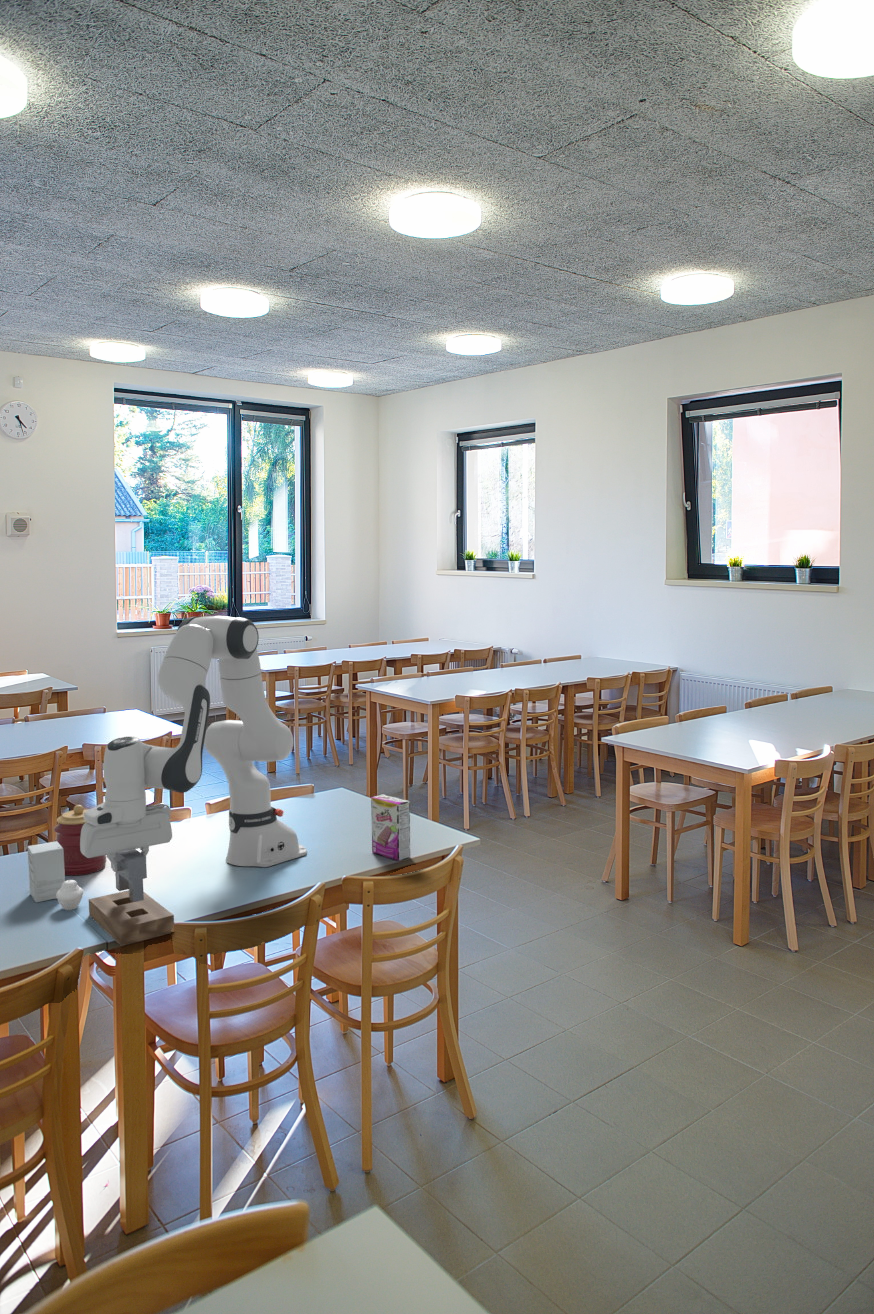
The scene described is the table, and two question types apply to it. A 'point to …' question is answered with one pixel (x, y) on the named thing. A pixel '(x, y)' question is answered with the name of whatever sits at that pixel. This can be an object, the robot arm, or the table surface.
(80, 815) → the canister
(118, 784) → the robot arm
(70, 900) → the muffin
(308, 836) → the table surface
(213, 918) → the table surface
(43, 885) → the supplement box
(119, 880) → the grey u-shaped block
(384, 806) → the candy bar box
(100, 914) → the wooden socket board
